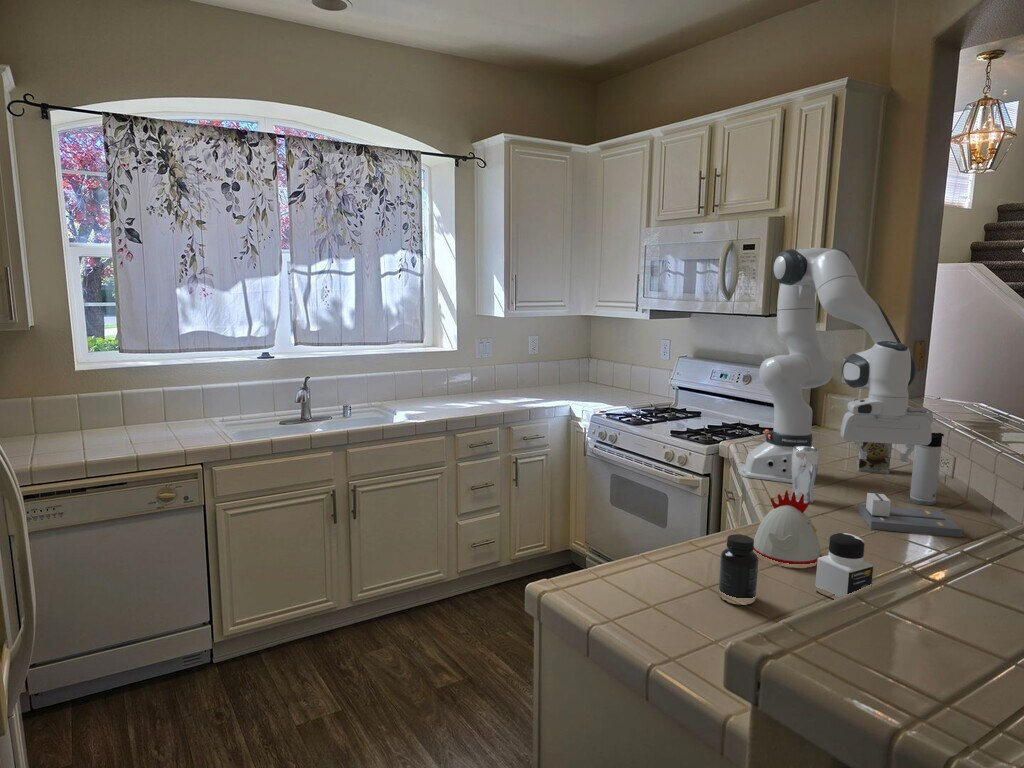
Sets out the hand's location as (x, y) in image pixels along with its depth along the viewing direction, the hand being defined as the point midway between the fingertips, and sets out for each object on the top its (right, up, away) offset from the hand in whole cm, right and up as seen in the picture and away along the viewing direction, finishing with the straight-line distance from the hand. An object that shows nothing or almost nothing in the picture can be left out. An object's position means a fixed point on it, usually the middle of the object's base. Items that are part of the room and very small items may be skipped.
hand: (883, 460), depth 170 cm
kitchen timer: (-33, -19, -21) cm, 44 cm away
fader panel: (+7, -16, +1) cm, 18 cm away
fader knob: (0, -14, +2) cm, 14 cm away
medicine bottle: (-30, -22, -40) cm, 55 cm away
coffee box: (+25, -10, +51) cm, 58 cm away
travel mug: (+22, -14, +18) cm, 32 cm away
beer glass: (-12, -14, +19) cm, 27 cm away
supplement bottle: (-51, -22, -42) cm, 70 cm away
